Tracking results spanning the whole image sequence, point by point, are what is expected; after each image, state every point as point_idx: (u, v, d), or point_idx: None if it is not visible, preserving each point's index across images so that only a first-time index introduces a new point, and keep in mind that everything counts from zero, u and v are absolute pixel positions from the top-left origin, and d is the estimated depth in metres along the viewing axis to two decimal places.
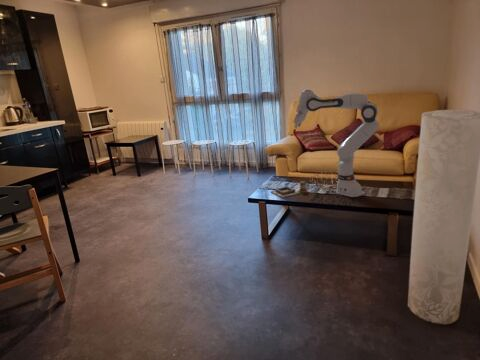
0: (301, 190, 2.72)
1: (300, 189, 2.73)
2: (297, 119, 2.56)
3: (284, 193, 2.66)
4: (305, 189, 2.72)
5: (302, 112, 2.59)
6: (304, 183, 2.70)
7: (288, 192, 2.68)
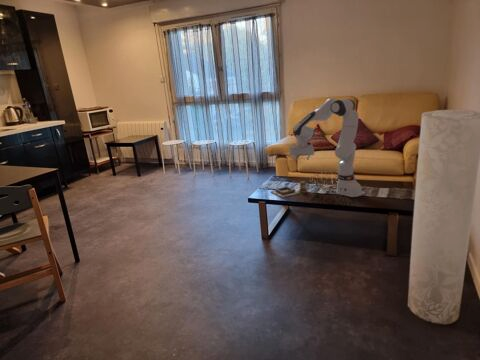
0: (301, 190, 2.72)
1: (300, 189, 2.73)
2: (290, 151, 2.84)
3: (284, 193, 2.66)
4: (305, 189, 2.72)
5: (297, 145, 2.84)
6: (304, 183, 2.70)
7: (288, 192, 2.68)
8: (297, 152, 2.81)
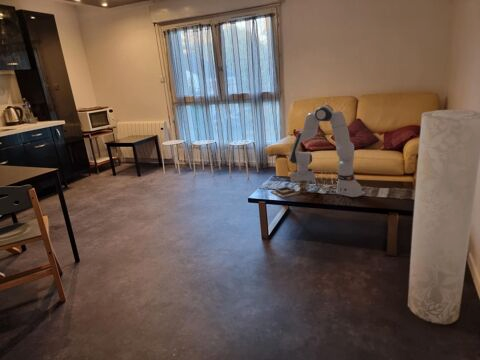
0: (301, 190, 2.72)
1: (300, 189, 2.73)
2: None
3: (284, 193, 2.66)
4: (305, 189, 2.72)
5: (297, 171, 2.78)
6: (304, 183, 2.70)
7: (288, 192, 2.68)
8: (298, 179, 2.74)
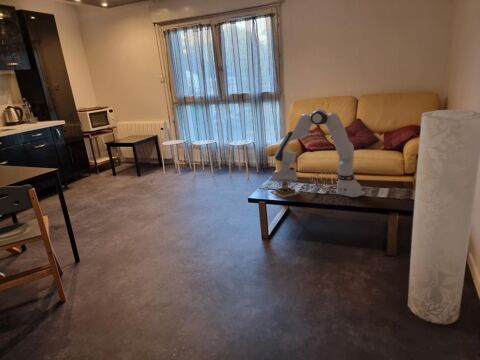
0: (283, 190, 2.72)
1: (282, 189, 2.72)
2: None
3: (284, 193, 2.66)
4: (287, 189, 2.71)
5: None
6: (286, 183, 2.69)
7: (288, 192, 2.68)
8: (280, 177, 2.73)
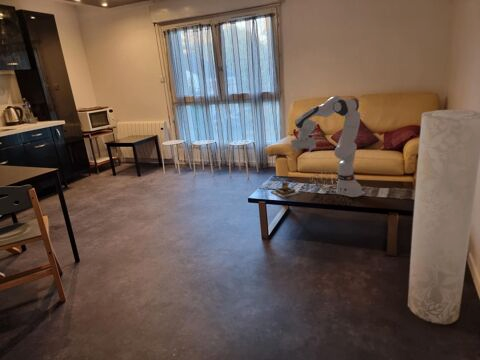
0: (283, 190, 2.72)
1: (282, 189, 2.72)
2: None
3: (284, 193, 2.66)
4: (287, 189, 2.71)
5: (298, 138, 2.85)
6: (286, 183, 2.69)
7: (288, 192, 2.68)
8: (299, 145, 2.82)
